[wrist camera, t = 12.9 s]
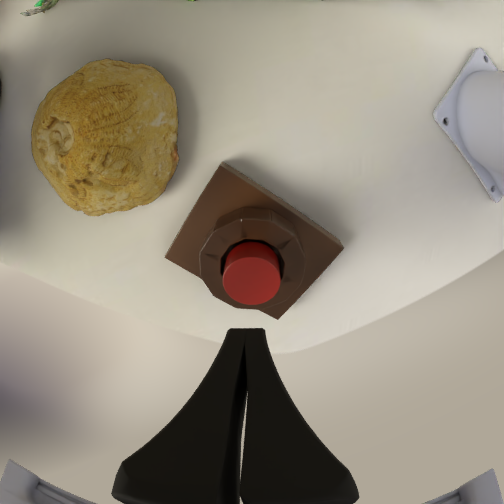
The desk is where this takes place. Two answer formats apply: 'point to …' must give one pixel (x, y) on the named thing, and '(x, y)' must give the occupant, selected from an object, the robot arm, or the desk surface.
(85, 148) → the fossil
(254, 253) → the button
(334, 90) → the desk surface
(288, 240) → the button block
